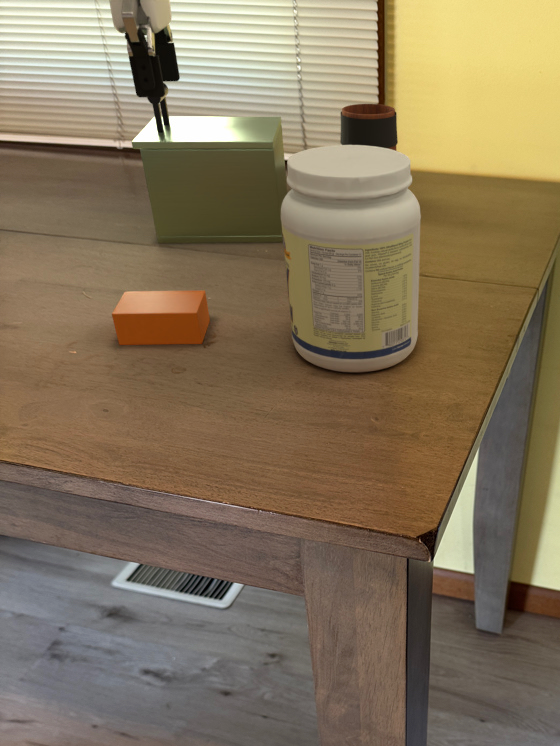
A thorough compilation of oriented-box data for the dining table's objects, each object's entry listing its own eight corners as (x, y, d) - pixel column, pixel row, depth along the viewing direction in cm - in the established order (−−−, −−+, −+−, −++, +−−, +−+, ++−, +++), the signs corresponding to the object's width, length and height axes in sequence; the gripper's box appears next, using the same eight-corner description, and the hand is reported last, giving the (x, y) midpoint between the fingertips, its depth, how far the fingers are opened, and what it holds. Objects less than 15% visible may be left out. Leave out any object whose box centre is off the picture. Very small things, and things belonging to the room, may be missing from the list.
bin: (158, 243, 95) (139, 149, 88) (177, 210, 106) (161, 123, 99) (282, 242, 96) (273, 149, 89) (288, 209, 106) (281, 123, 100)
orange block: (119, 345, 73) (111, 313, 71) (131, 321, 78) (124, 291, 75) (202, 344, 74) (196, 312, 72) (210, 320, 78) (205, 290, 76)
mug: (384, 183, 117) (384, 97, 110) (406, 205, 108) (407, 114, 101) (330, 186, 115) (326, 99, 108) (347, 210, 106) (344, 117, 99)
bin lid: (132, 149, 88) (122, 96, 85) (155, 123, 99) (147, 75, 95) (273, 148, 89) (268, 96, 86) (281, 123, 99) (277, 76, 96)
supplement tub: (313, 316, 79) (300, 138, 68) (427, 327, 77) (433, 145, 66) (275, 370, 70) (254, 173, 59) (404, 383, 68) (407, 184, 57)
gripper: (108, -99, 86) (142, 76, 97) (65, -98, 73) (110, 104, 84) (175, -99, 86) (201, 75, 97) (144, -98, 73) (178, 103, 84)
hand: (159, 88), depth 90 cm, fingers open, 9 cm apart
